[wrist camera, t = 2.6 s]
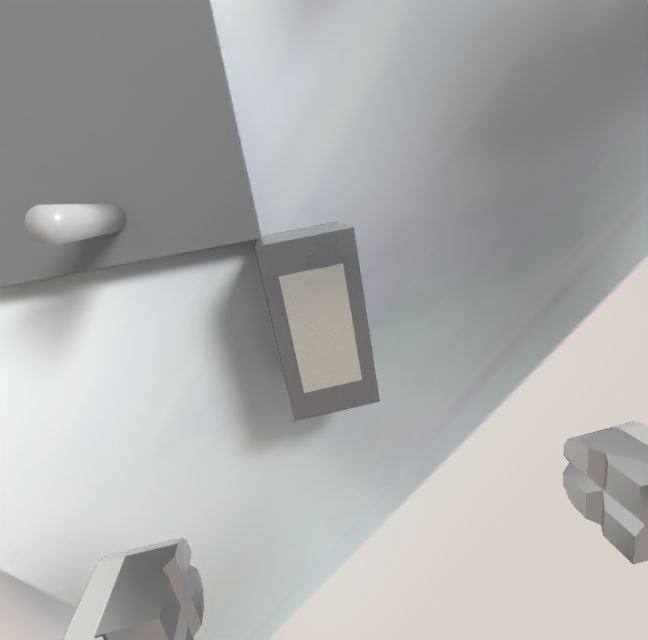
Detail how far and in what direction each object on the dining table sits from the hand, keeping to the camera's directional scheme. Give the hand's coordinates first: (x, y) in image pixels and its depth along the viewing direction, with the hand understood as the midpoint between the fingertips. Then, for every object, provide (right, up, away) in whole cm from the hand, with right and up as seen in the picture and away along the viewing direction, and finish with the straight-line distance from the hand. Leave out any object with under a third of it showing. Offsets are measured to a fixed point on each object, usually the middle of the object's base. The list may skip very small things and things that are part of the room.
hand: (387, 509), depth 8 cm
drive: (-2, +5, +15) cm, 16 cm away
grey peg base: (-13, +15, +10) cm, 23 cm away
